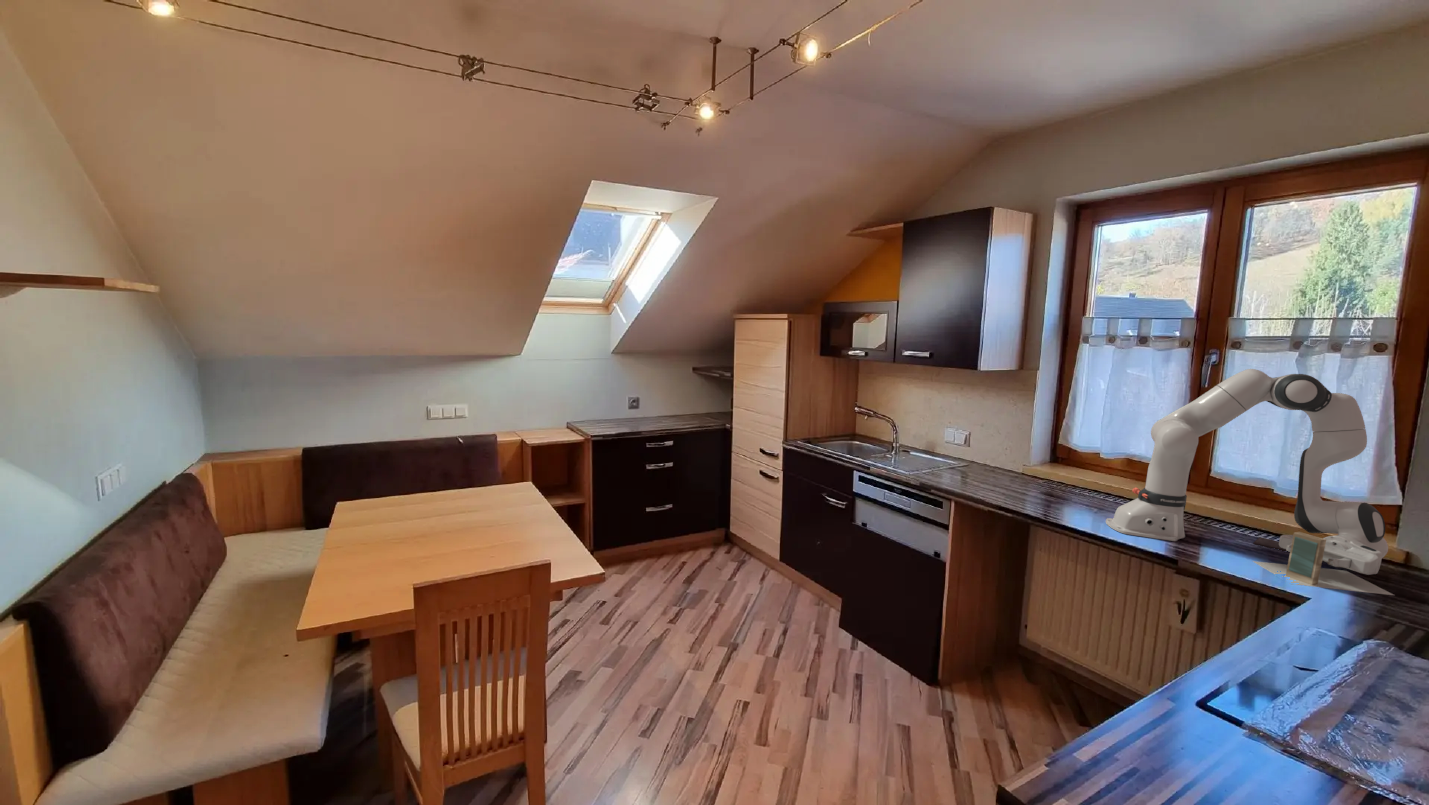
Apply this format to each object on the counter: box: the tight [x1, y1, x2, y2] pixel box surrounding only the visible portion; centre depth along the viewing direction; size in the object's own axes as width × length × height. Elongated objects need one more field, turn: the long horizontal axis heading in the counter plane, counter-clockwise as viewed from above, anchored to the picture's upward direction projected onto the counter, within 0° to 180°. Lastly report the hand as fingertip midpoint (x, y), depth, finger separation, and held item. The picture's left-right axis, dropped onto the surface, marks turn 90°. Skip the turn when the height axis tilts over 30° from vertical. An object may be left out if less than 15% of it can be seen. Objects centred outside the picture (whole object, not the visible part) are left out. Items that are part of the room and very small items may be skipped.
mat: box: [1252, 560, 1394, 596], centre depth 171 cm, size 24×16×1 cm, turn 79°
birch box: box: [1286, 531, 1326, 585], centre depth 167 cm, size 3×6×13 cm, turn 19°
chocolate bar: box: [1252, 536, 1326, 563], centre depth 193 cm, size 9×1×18 cm
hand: (1309, 555), depth 168 cm, fingers open, 8 cm apart
